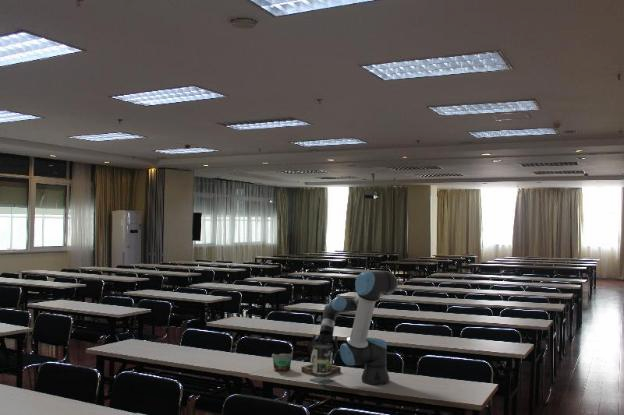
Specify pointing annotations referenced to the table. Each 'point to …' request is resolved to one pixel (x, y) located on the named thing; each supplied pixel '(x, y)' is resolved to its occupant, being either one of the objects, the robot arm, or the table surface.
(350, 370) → the table surface
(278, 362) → the food container
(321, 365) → the coffee can
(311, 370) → the wooden tray
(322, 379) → the mat
